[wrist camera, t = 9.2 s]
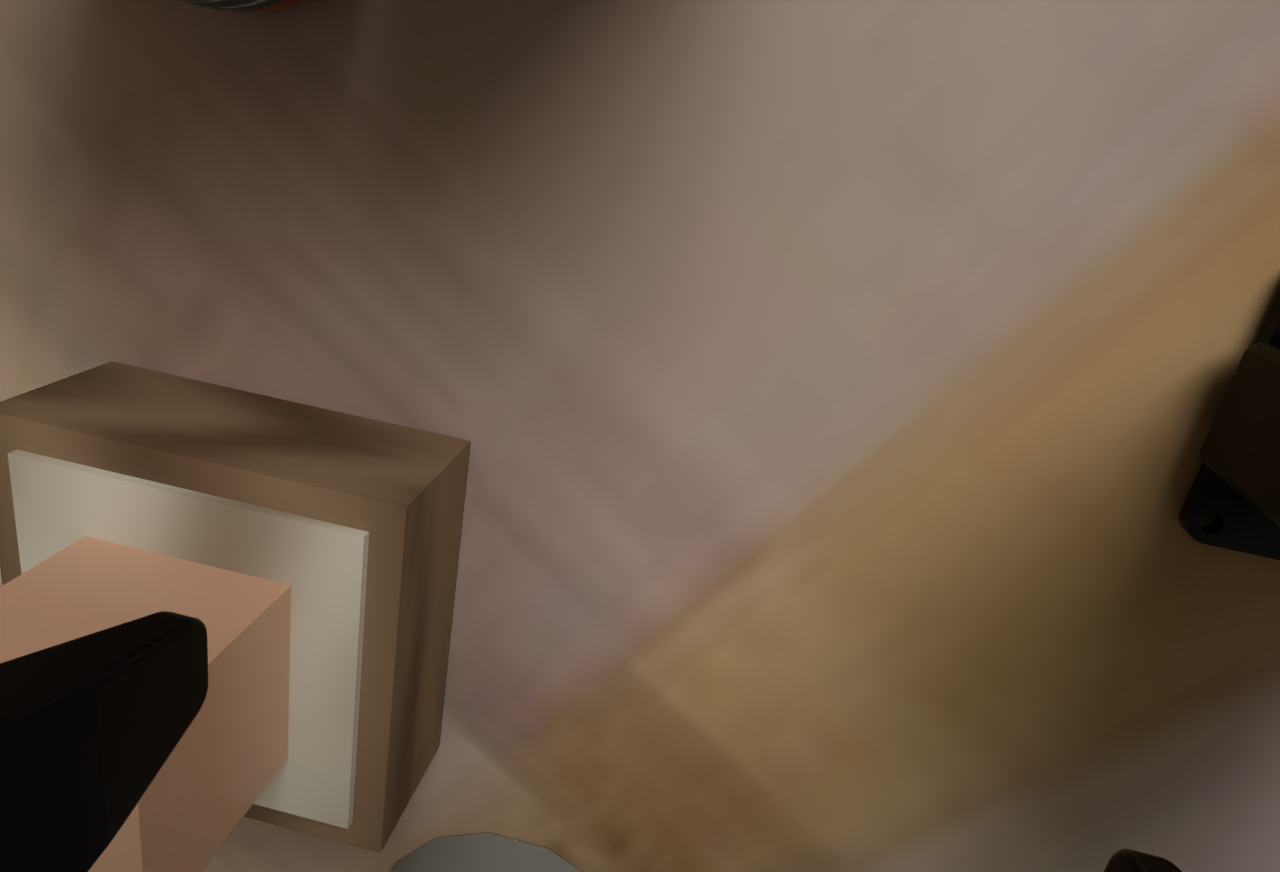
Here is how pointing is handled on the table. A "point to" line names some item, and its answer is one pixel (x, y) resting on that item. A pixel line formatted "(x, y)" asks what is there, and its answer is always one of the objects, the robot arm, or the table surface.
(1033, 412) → the table surface
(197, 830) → the cube
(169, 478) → the pedestal
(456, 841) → the cup
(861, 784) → the table surface
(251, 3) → the supplement bottle
